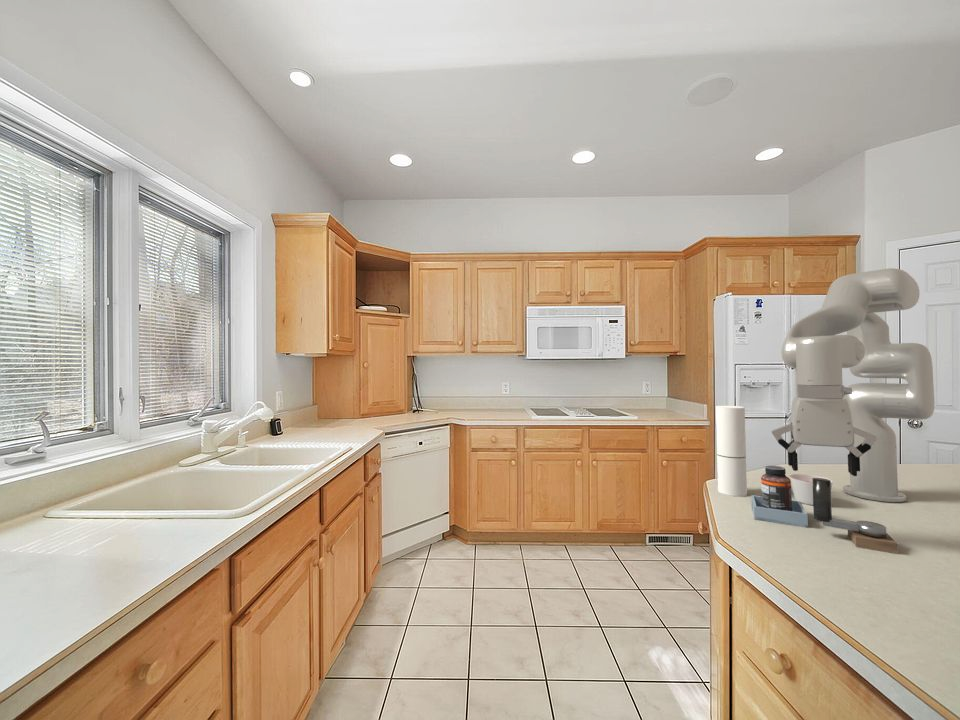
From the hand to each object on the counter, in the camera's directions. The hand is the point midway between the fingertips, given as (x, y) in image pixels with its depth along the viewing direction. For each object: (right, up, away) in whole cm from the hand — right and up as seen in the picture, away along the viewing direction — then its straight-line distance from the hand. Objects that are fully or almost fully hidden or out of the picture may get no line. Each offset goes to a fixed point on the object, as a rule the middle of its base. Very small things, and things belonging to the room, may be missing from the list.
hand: (822, 471), depth 86 cm
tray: (-1, -14, +11) cm, 18 cm away
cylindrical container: (-1, -15, +30) cm, 33 cm away
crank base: (+6, -14, -5) cm, 16 cm away
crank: (+3, -11, -2) cm, 12 cm away
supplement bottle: (-1, -14, +11) cm, 18 cm away
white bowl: (+15, -14, +21) cm, 29 cm away
